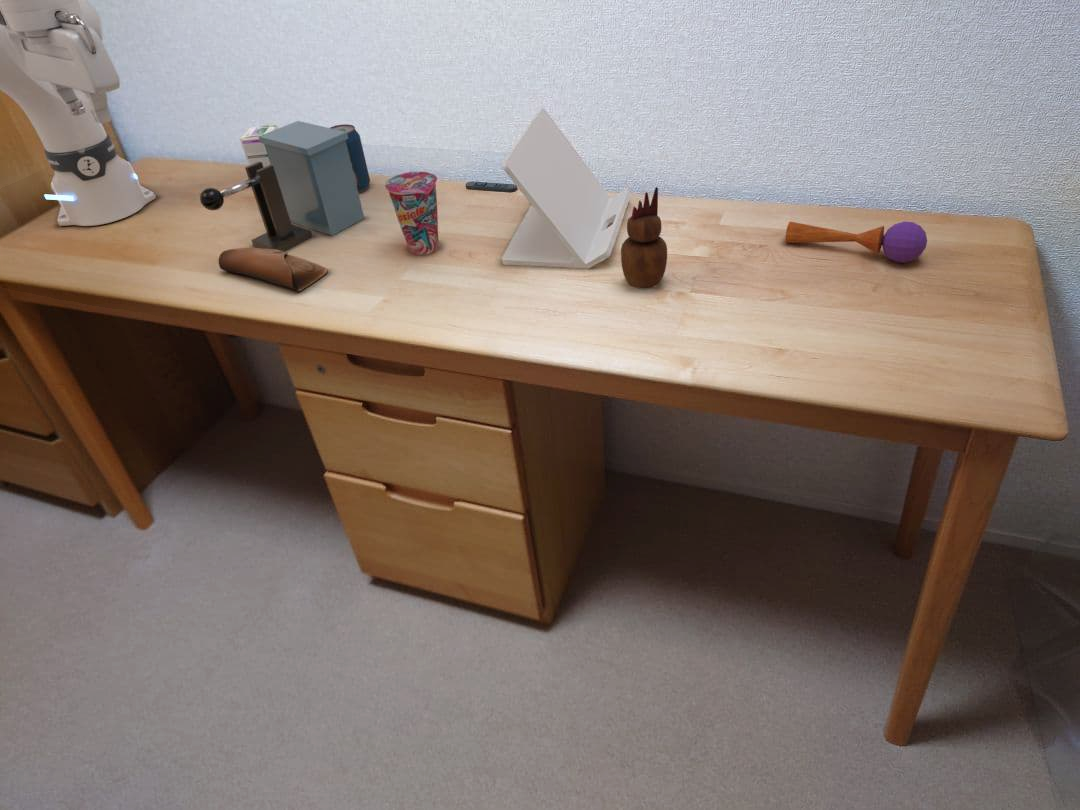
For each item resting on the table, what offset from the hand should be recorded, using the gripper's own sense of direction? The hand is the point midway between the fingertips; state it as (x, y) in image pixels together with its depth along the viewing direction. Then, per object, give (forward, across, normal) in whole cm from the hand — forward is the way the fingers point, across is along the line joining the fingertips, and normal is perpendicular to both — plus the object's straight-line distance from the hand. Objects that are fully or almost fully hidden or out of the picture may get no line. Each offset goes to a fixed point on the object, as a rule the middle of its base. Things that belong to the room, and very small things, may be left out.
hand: (91, 117), depth 107 cm
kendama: (+30, -87, -66) cm, 113 cm away
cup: (+29, -26, -34) cm, 52 cm away
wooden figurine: (+30, -64, -42) cm, 82 cm away
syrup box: (+29, +14, -33) cm, 47 cm away
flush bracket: (+29, 0, -23) cm, 37 cm away
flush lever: (+19, 0, -17) cm, 26 cm away
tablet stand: (+30, -44, -51) cm, 73 cm away
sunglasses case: (+29, -9, -14) cm, 34 cm away
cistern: (+29, 0, -33) cm, 44 cm away
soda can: (+29, +6, -45) cm, 54 cm away
